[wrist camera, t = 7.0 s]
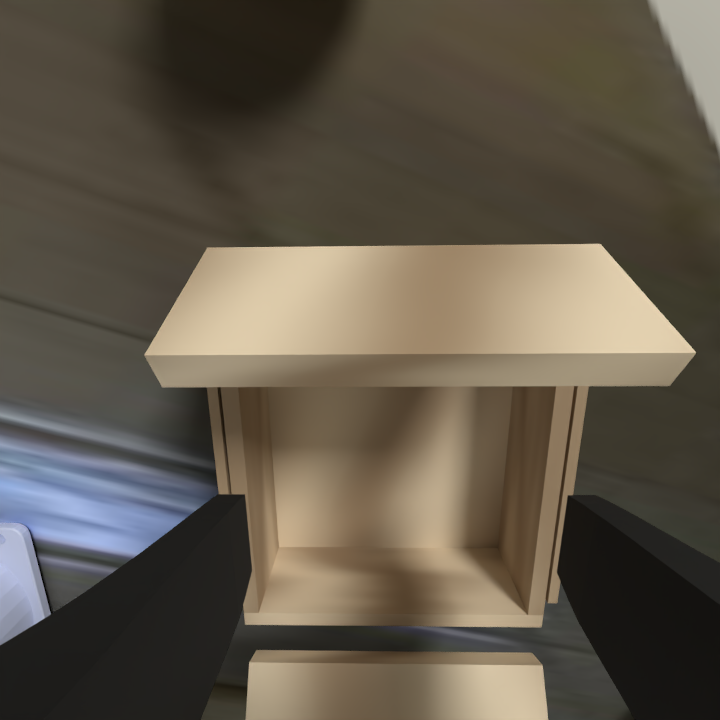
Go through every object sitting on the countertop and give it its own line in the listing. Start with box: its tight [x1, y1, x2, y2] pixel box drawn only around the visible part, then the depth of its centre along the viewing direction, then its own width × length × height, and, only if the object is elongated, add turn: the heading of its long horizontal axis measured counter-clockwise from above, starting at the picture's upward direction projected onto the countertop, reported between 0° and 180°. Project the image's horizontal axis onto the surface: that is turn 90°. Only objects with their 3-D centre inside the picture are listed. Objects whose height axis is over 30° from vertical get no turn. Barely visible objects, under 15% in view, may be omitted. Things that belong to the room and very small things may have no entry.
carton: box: [207, 386, 589, 627], centre depth 13 cm, size 11×12×4 cm
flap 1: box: [144, 244, 696, 387], centre depth 8 cm, size 9×4×1 cm
